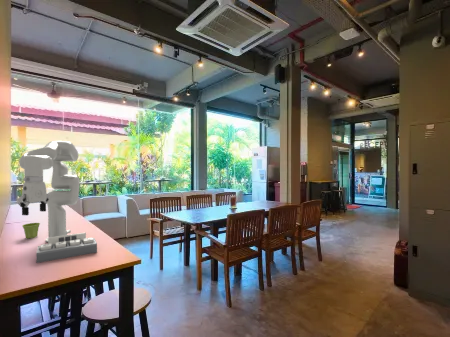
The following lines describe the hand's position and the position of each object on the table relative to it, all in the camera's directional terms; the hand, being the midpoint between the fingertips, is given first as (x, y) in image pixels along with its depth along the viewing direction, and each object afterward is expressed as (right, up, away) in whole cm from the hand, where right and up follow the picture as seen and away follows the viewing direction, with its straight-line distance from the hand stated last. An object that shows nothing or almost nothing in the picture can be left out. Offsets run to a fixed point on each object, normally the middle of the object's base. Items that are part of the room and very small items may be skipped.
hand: (34, 213), depth 127 cm
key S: (+9, -20, +7) cm, 23 cm away
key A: (+3, -20, +4) cm, 21 cm away
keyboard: (+11, -24, +9) cm, 28 cm away
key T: (+20, -20, +14) cm, 32 cm away
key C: (+14, -20, +11) cm, 27 cm away
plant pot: (-32, -23, +39) cm, 55 cm away
